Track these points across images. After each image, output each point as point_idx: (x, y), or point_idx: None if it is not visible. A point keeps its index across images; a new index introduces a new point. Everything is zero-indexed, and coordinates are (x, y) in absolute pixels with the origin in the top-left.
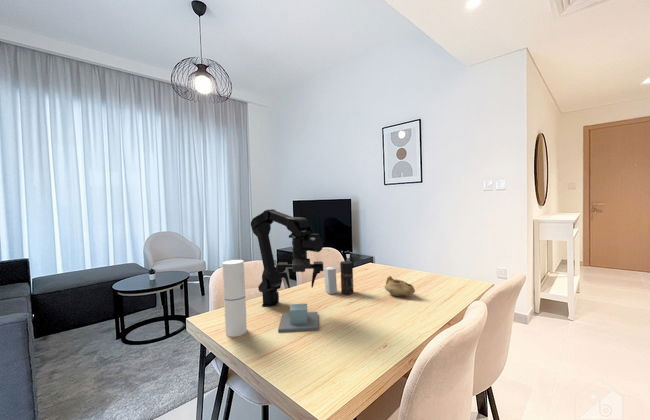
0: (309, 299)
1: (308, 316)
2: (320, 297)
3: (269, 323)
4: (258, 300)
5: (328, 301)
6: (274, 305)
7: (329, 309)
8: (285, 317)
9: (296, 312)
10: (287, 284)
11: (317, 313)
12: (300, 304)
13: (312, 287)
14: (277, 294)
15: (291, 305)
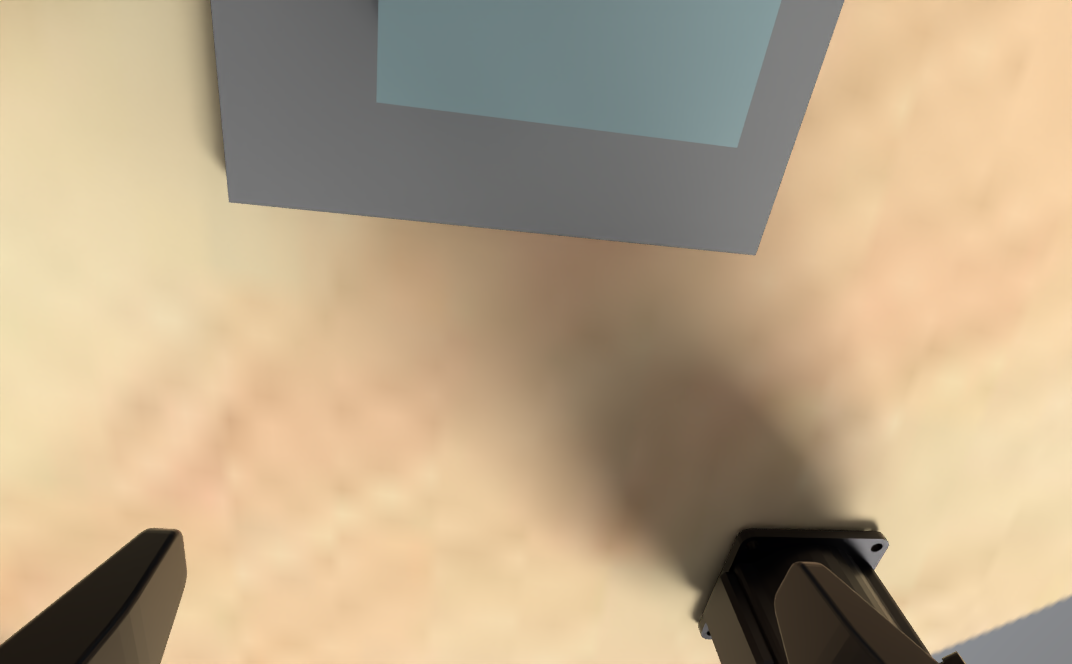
0: (366, 625)
1: None
2: (236, 656)
3: (965, 35)
4: None
5: None
6: (764, 529)
7: (65, 326)
8: None
9: None
10: (917, 647)
11: (225, 136)
12: (535, 77)
13: (146, 532)
14: (763, 659)
15: (741, 70)
